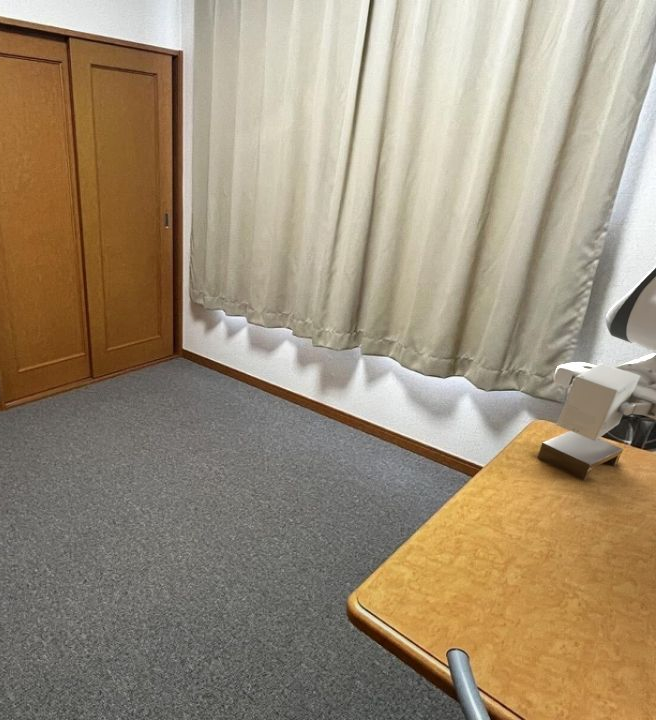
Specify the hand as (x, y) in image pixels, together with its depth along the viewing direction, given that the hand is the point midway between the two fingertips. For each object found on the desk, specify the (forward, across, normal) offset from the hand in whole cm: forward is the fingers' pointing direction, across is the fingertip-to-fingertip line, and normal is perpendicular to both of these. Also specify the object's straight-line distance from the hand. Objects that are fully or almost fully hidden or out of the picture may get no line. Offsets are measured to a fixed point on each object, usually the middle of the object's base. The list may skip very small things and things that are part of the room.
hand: (596, 400), depth 86 cm
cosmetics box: (-1, 0, +6) cm, 6 cm away
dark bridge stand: (-1, 0, +14) cm, 14 cm away
